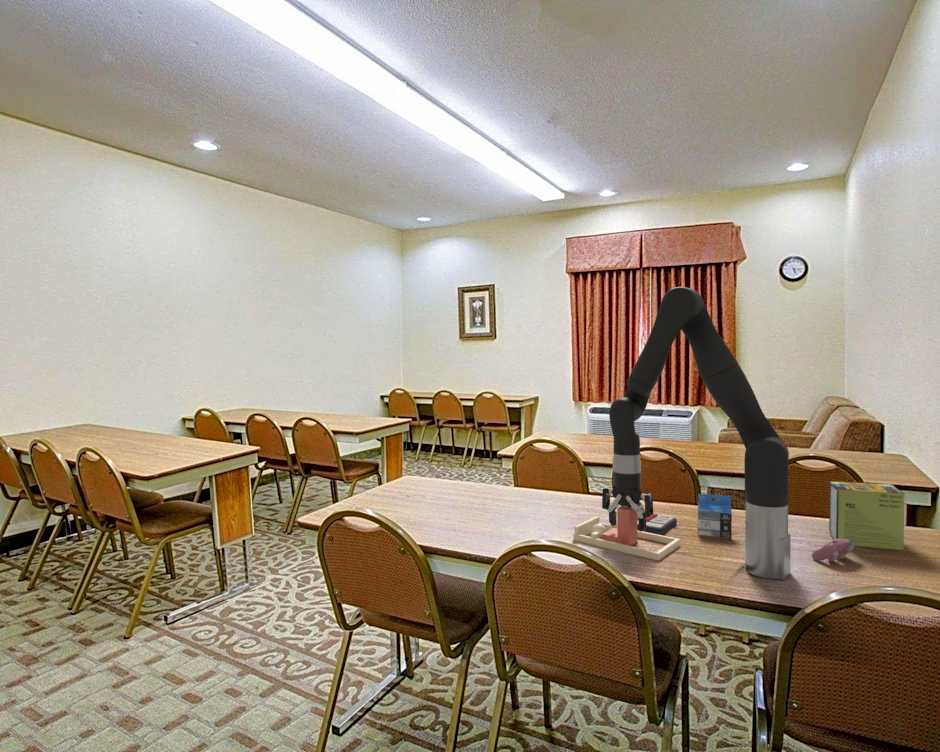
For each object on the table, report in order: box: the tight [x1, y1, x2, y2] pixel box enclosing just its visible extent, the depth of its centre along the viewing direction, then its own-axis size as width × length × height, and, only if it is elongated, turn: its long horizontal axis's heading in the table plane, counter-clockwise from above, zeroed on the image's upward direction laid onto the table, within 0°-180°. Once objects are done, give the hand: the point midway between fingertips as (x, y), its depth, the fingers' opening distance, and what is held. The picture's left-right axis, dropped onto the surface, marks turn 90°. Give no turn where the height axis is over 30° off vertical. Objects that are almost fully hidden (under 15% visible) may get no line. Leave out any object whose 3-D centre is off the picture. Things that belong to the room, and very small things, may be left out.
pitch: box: [572, 515, 681, 561], centre depth 159 cm, size 25×14×5 cm, turn 48°
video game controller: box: [811, 538, 856, 563], centre depth 146 cm, size 10×5×7 cm, turn 114°
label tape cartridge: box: [697, 493, 733, 541], centre depth 164 cm, size 9×4×12 cm, turn 68°
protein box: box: [828, 481, 906, 551], centre depth 159 cm, size 10×15×16 cm
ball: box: [592, 524, 607, 539], centre depth 164 cm, size 4×4×4 cm
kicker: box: [601, 506, 639, 547], centre depth 159 cm, size 8×7×10 cm
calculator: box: [637, 513, 678, 536], centre depth 173 cm, size 11×4×15 cm
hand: (627, 527), depth 158 cm, fingers open, 8 cm apart
